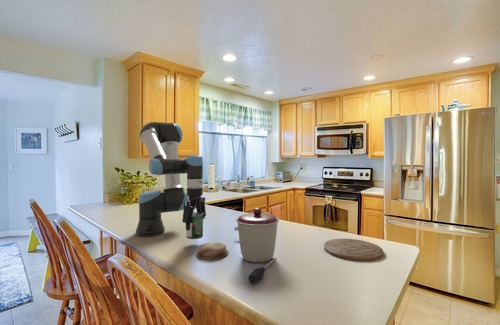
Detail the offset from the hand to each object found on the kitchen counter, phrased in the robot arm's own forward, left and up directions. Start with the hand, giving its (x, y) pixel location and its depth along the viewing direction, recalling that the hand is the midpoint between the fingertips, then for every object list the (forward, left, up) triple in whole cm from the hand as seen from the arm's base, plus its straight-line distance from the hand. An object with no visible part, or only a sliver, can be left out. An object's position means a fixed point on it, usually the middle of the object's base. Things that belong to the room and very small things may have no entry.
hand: (194, 233), depth 129 cm
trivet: (+70, +25, -6) cm, 74 cm away
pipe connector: (+18, +19, -5) cm, 26 cm away
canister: (+35, -2, -6) cm, 35 cm away
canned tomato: (0, 0, -2) cm, 2 cm away
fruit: (+20, +41, -6) cm, 45 cm away
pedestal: (+15, -6, -5) cm, 17 cm away
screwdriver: (+42, -12, -6) cm, 44 cm away
